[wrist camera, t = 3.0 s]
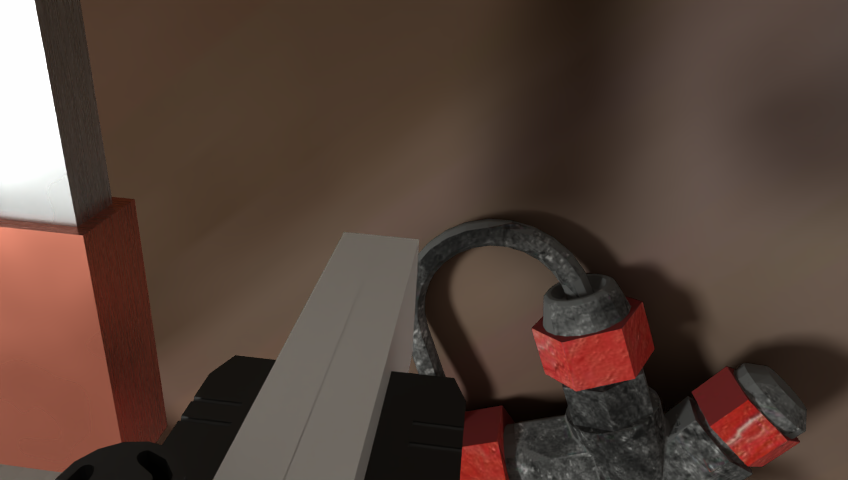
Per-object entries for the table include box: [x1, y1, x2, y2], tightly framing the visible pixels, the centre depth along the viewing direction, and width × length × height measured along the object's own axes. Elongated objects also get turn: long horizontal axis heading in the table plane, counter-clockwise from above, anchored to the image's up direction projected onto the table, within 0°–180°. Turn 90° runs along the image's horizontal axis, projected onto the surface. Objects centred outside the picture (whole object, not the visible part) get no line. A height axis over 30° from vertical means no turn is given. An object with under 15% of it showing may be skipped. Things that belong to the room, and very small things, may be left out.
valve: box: [412, 219, 807, 480], centre depth 27 cm, size 6×26×15 cm
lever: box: [0, 0, 167, 472], centre depth 12 cm, size 16×4×2 cm, turn 177°
